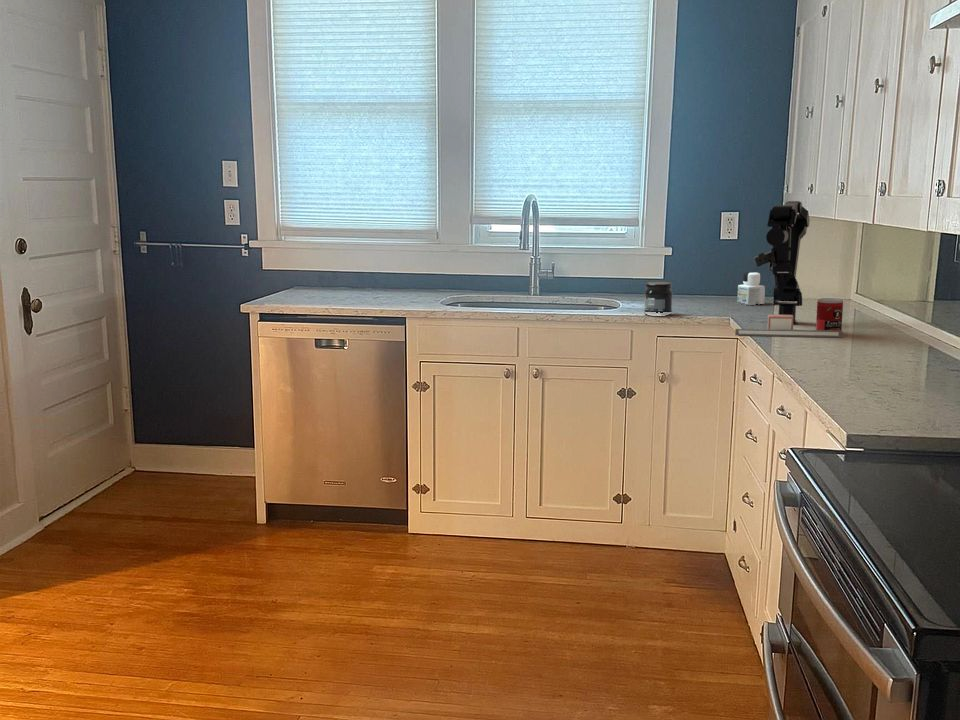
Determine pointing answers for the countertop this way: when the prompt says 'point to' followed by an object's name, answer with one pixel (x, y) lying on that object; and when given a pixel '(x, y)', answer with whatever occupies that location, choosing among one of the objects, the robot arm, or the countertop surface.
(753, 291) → the container
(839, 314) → the canned food
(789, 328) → the salmon pink block
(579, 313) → the countertop surface
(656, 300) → the supplement container
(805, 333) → the price rail
